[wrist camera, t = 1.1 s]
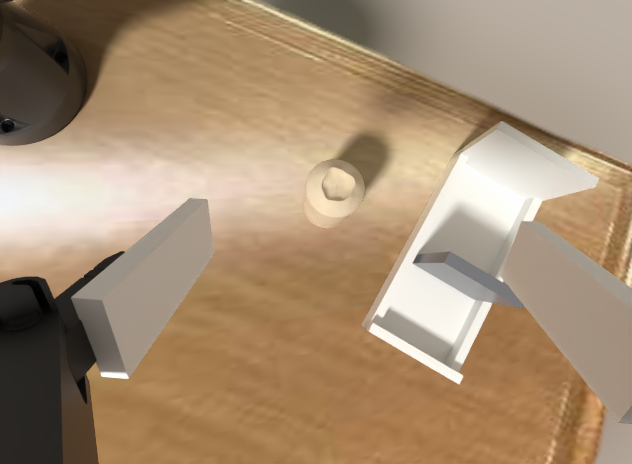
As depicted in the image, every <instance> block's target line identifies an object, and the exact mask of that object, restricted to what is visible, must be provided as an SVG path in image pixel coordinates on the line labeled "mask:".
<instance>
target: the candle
mask: <svg viewBox="0 0 632 464" xmlns="http://www.w3.org/2000/svg"><path fill="white" fill-rule="evenodd" d="M364 194H365V185H364V181H363V178H362V176H361V174H360V172H359V171H358V170H357V169H356V168H355V167H354V166H353V165H351V164H350V163H348V162H346V161H343V160H337V159H332V160H327V161H324V162H321V163H320V164H318V165H317V166H315V167H314V168H313V169H312V171H311V172H310V174H309V176H308V178H307V181H306V187H305V195H304V203H303V206H304V212H305V214H306V216H307V218H308V219H309V220H310V221H311V222H312V223H313V224H314V225H316V226H318V227H322V228H332V227H335V226H338V225H339V224H341V223H342V222H343V221H344V220H345V219H347V218H348V217H349V216H350V215H351V214H352V213H353V212H354V211H355V210H356V209H357V208H358V207H359V206H360V204H361V203H362V201H363V198H364Z"/></svg>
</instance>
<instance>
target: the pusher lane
mask: <svg viewBox="0 0 632 464" xmlns="http://www.w3.org/2000/svg"><path fill="white" fill-rule="evenodd" d="M598 180H599V178H598V177H596V176H594V175H593V174H591V173H589V172H588V171H586V170H584V169H582V168H581V167H579V166H577V165H576V164H574V163H572V162H571V161H569V160H567V159H566V158H564V157H562V156H560V155H559V154H557V153H555V152H554V151H552V150H550V149H549V148H547V147H545V146H544V145H542V144H540V143H539V142H537V141H535V140H533V139H532V138H530V137H528V136H527V135H525V134H523V133H522V132H520V131H518V130H517V129H515V128H513V127H511V126H510V125H508V124H506V123H505V122H503V121H500V122H499V123H498V124H496V125H495V126H493V127H492V128H490V129H489V130H488V131H486V132H485V133H483V134H482V135H480V136H479V137H478V138H476V139H475V140H473V141H472V142H470V143H469V144H468V145H466V146H465V147H463V148H462V149H460V150H459V151H458V152H456V153H455V154H454V155H453V157H452V159H451V161H450V163H449V164H448V166H447V168H446V170H445V172H444V174H443V175H442V177H441V179H440V181H439V183H438V185H437V187H436V188H435V190H434V192H433V194H432V196H431V198H430V199H429V201H428V203H427V205H426V207H425V209H424V211H423V212H422V214H421V216H420V218H419V220H418V222H417V223H416V225H415V227H414V229H413V231H412V233H411V235H410V236H409V238H408V240H407V242H406V244H405V246H404V247H403V249H402V251H401V253H400V255H399V257H398V258H397V260H396V262H395V264H394V266H393V268H392V270H391V271H390V273H389V275H388V277H387V279H386V281H385V282H384V284H383V286H382V288H381V290H380V292H379V294H378V295H377V297H376V299H375V301H374V303H373V305H372V306H371V308H370V310H369V312H368V314H367V316H366V318H365V319H364V321H363V323H362V326H363V327H364V328H365V329H367V330H368V331H369V332H371V333H372V334H374V335H376V336H377V337H379V338H381V339H382V340H384V341H386V342H388V343H389V344H391V345H393V346H394V347H396V348H398V349H400V350H401V351H403V352H405V353H406V354H408V355H410V356H411V357H413V358H415V359H417V360H418V361H420V362H422V363H423V364H425V365H427V366H428V367H430V368H432V369H434V370H435V371H437V372H439V373H440V374H442V375H444V376H445V377H447V378H449V379H451V380H452V381H454V382H456V383H457V384H460V382H461V380H462V378H463V375H461V374H460V373H459V371H460V369H461V366H462V364H463V362H464V360H465V358H466V356H467V354H468V352H469V350H470V348H471V346H472V344H473V342H474V340H475V338H476V336H477V334H478V332H479V330H480V327H481V325H482V323H483V321H484V319H485V317H486V315H487V313H488V311H489V309H490V307H491V305H492V303H489V302H484V301H479V300H474V299H472V298H470V297H468V296H467V295H465V294H463V293H462V292H460V291H458V290H457V289H455V288H453V287H451V286H450V285H448V284H446V283H445V282H443V281H441V280H440V279H438V278H436V277H434V276H433V275H431V274H429V273H428V272H426V271H424V270H423V269H421V268H419V267H417V266H416V265H414V264H412V263H413V261H414V259H415V257H416V255H417V254H427V253H438V252H449V251H450V252H452V253H454V254H455V255H457V256H459V257H460V258H462V259H464V260H466V261H467V262H469V263H471V264H472V265H474V266H476V267H477V268H479V269H481V270H483V271H484V272H486V273H488V274H489V275H491V276H493V277H494V278H496V279H498V280H499V281H501V282H503V279H502V278H501V273H502V271H503V268H504V265H505V263H506V260H507V258H508V255H509V252H510V250H511V247H512V245H513V242H514V239H515V237H516V234H517V231H518V229H519V226H520V224H521V221H533V219H534V217H535V215H536V213H537V210H538V208H539V206H540V204H541V202H542V201H544V200H548V199H552V198H556V197H560V196H563V195H567V194H571V193H575V192H579V191H583V190H586V189H590V188H594V187H596V185H597V183H598Z"/></svg>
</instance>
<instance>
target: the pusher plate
mask: <svg viewBox="0 0 632 464" xmlns="http://www.w3.org/2000/svg"><path fill="white" fill-rule="evenodd" d="M412 264H414V265H416V266H417V267H419V268H421V269H423V270H424V271H426V272H428V273H429V274H431V275H433V276H434V277H436V278H438V279H440V280H441V281H443V282H445V283H446V284H448V285H450V286H451V287H453V288H455V289H457V290H458V291H460V292H462V293H463V294H465V295H467V296H468V297H470V298H472V299H474V300H479V301H484V302H489V303H495V304H500V305H505V306H510V307H516V308H521V309H522V308H523V306H524V305H523V304H522V302H521V301H520V300H519V299H518V297H517V296H516V295H515V294H514V292H513V291H512V290H511V289H510V287H509V286H508V285H506V284H505V283H503V282H501V281H499V280H498V279H496V278H494V277H493V276H491V275H489V274H488V273H486V272H484V271H483V270H481V269H479V268H477V267H476V266H474V265H472V264H471V263H469V262H467V261H466V260H464V259H462V258H460V257H459V256H457V255H455V254H454V253H452V252H450V251H449V252H438V253H427V254H417V255H416V257H415V259H414V261H413V263H412Z"/></svg>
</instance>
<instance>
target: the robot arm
mask: <svg viewBox="0 0 632 464" xmlns="http://www.w3.org/2000/svg"><path fill="white" fill-rule="evenodd" d="M12 1H13V0H0V145H26V144H31V143H35V142H38V141H41V140H43V139H46V138H48V137H50V136H52V135H53V134H55V133H57V132H58V131H59V130H61V129H62V128H63V127H64V126H65V125H67V124H68V123H69V122H70V120H71V119H72V118H73V117H74V116H75V114H76V113H77V111H78V109H79V108H80V106H81V104H82V101H83V98H84V95H85V90H86V71H85V67H84V63H83V61H82V58H81V56H80V54H79V53H78V51H77V50H76V48H75V47H74V46H73V44H72V43H71V42H70V41H69V40H68V39H67V38H66V37H65V36H64V35H63V34H62V33H61V32H60V31H59V30H58V29H56V28H55V27H54V26H53V25H52V24H50V23H49V22H48V21H46V20H45V19H43V18H41V17H39V16H38V15H36V14H34V13H32V12H30V11H28V10H27V9H25V8H23V7H21V6H19V5H18V4H16V3H14V2H12ZM213 256H214V250H213V242H212V234H211V225H210V217H209V209H208V200H207V199H192V198H190V199H188V200H187V201H186V202H185V203H184V204H182V205H181V206H180V207H179V208H178V209H176V210H175V211H174V212H173V213H172V214H170V215H169V216H168V217H167V218H166V219H164V220H163V221H162V222H161V223H160V224H158V225H157V226H156V227H155V228H154V229H152V230H151V231H150V232H149V233H148V234H146V235H145V236H144V237H143V238H142V239H140V240H139V241H138V242H137V243H136V244H134V245H133V246H132V247H131V248H130V249H128V250H127V251H126V252H124V251H121V252H119V253H117V254H114V255H112V256H110V257H108V258H106V259H104V260H103V261H102V262H101V263H99V264H98V265H97V266H96V267H94V269H93V270H91V271H89V272H88V273H87V274H85V275H84V278H80V279H79V280H78V281H77V282H75V283H74V284H73V285H72V286H70V287H69V288H68V289H66V290H65V291H64V292H63V293H61V294H60V295H59V296H58V297H56V298H55V299H54V298H53V296H52V293H51V291H50V288H49V286H48V284H47V282H46V280H45V279H43V278H40V277H21V278H15V279H11V280H8V281H5V282H1V283H0V464H99V463H98V455H97V446H96V437H95V428H94V420H93V411H92V402H91V394H90V385H89V380H88V378H87V376H86V373H87V372H88V370H89V369H90V368H91V367H92V366H93V364H94V363H95V362H96V363H97V366H98V368H99V371H100V373H101V376H102V377H113V378H124V379H129V378H130V376H131V375H132V373H133V372H134V370H135V369H136V368H137V366H138V365H139V363H140V362H141V360H142V359H143V357H144V356H145V354H146V353H147V352H148V350H149V349H150V347H151V346H152V344H153V343H154V341H155V340H156V338H157V337H158V336H159V334H160V333H161V331H162V330H163V328H164V327H165V325H166V324H167V323H168V321H169V320H170V318H171V317H172V315H173V314H174V312H175V311H176V309H177V308H178V307H179V305H180V304H181V302H182V301H183V299H184V298H185V296H186V295H187V293H188V292H189V291H190V289H191V288H192V286H193V285H194V283H195V282H196V280H197V279H198V277H199V276H200V275H201V273H202V272H203V270H204V269H205V267H206V266H207V264H208V263H209V261H210V260H211V259H212V257H213ZM501 278H502V279H503V280H504V281H505V282H506V284H507V285H508V286H509V287H510V289H511V290H512V291H513V292H514V294H515V295H516V296H517V297H518V299H519V300H520V301H521V302H522V304H523V305H524V306H525V307H526V309H527V310H528V311H529V312H530V314H531V315H532V316H533V317H534V319H535V320H536V321H537V322H538V324H539V325H540V326H541V327H542V329H543V330H544V331H545V332H546V333H547V335H548V336H549V337H550V338H551V340H552V341H553V342H554V343H555V345H556V346H557V347H558V348H559V350H560V351H561V352H562V353H563V355H564V356H565V357H566V358H567V360H568V361H569V362H570V363H571V365H572V366H573V367H574V368H575V370H576V371H577V372H578V373H579V375H580V376H581V377H582V378H583V379H584V381H585V382H586V383H587V384H588V386H589V387H590V388H591V389H592V391H593V392H594V393H595V394H596V396H597V397H598V398H599V399H600V401H601V402H602V403H603V404H604V406H605V407H606V408H607V409H608V411H609V412H610V413H611V414H612V416H613V417H614V418H615V419H616V421H617V422H618V423H627V424H632V288H630V287H629V286H628V285H626V284H625V283H623V282H622V281H621V280H619V279H618V278H617V277H615V276H614V275H612V274H611V273H610V272H608V271H607V270H606V269H604V268H603V267H601V266H600V265H599V264H597V263H596V262H595V261H593V260H592V259H590V258H589V257H588V256H586V255H585V254H584V253H582V252H581V251H580V250H578V249H577V248H575V247H574V246H573V245H571V244H570V243H569V242H567V241H566V240H564V239H563V238H562V237H560V236H559V235H558V234H556V233H555V232H553V231H552V230H551V229H549V228H548V227H547V226H545V225H544V224H543V223H541V222H532V221H521V224H520V226H519V229H518V231H517V234H516V237H515V239H514V242H513V245H512V247H511V250H510V252H509V255H508V258H507V260H506V263H505V265H504V268H503V271H502V273H501Z"/></svg>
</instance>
